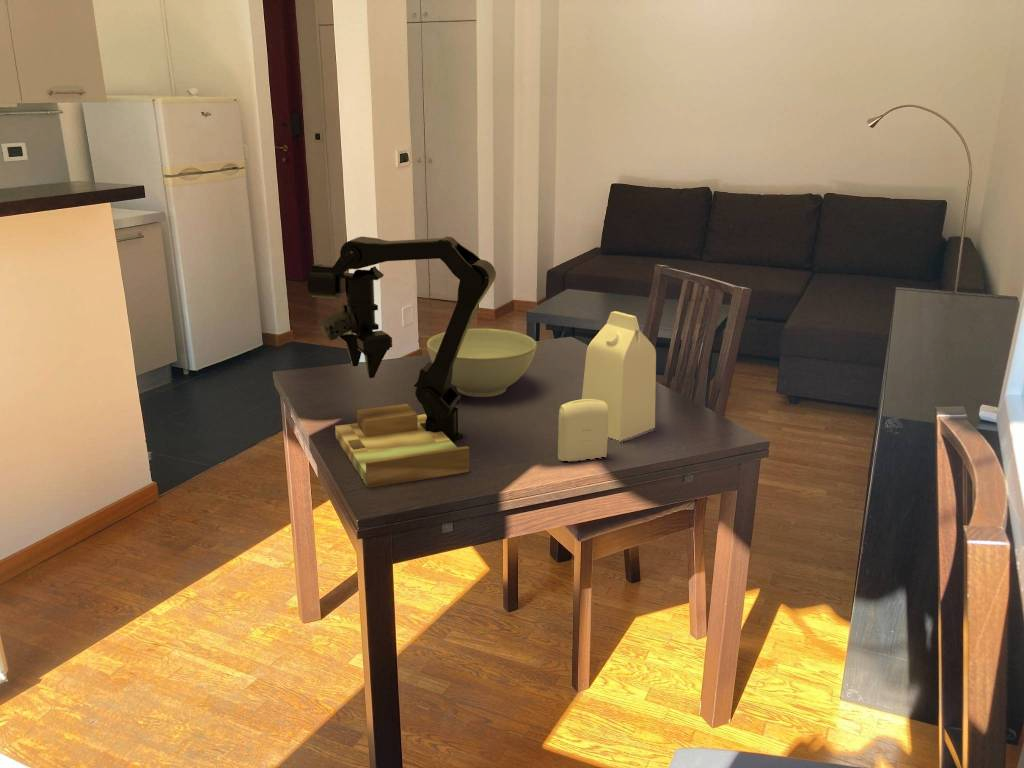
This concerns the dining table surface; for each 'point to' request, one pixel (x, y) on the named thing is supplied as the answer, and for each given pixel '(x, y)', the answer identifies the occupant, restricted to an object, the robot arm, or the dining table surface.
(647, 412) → the milk
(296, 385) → the dining table surface
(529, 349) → the decorative bowl
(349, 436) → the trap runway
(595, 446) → the photo printer
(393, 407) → the walnut block
